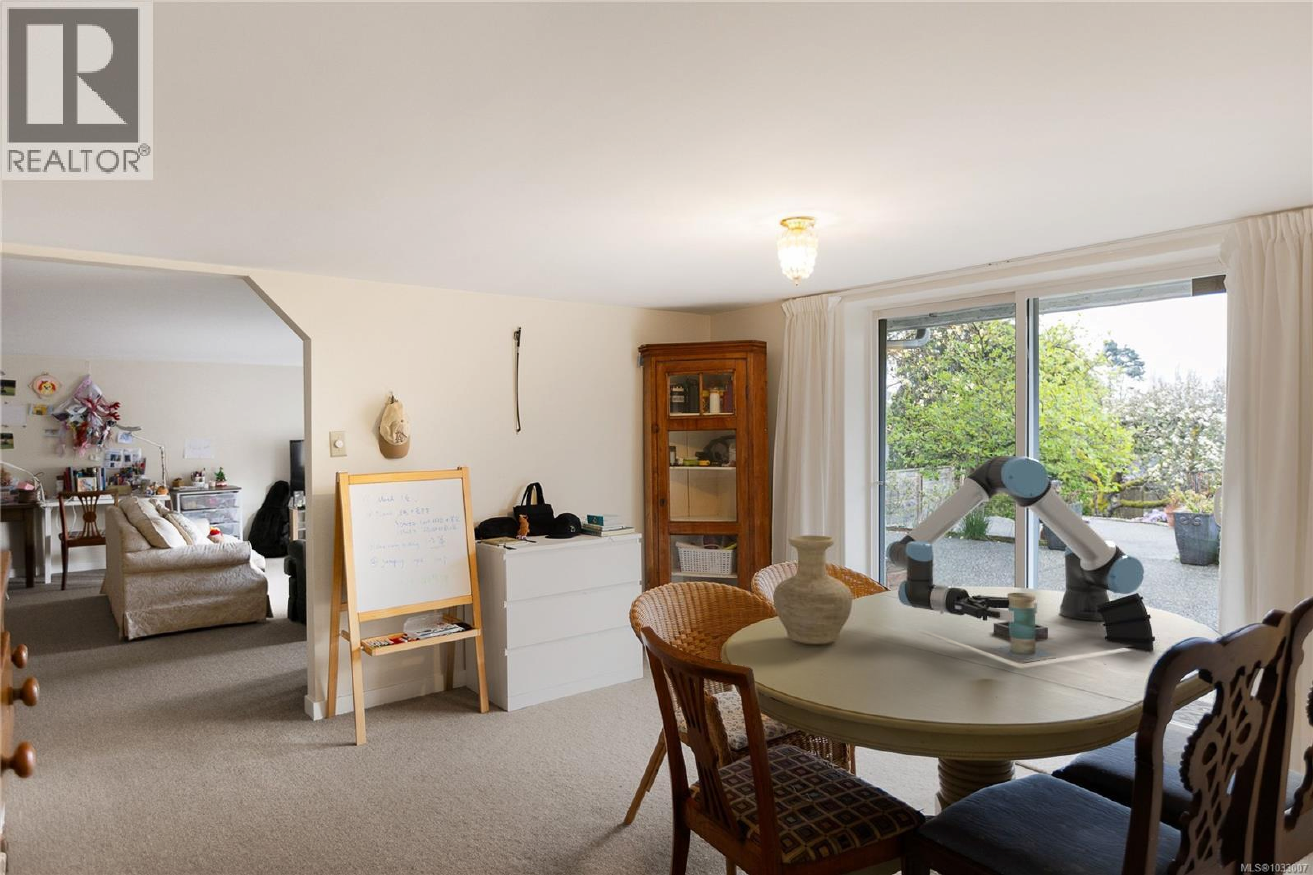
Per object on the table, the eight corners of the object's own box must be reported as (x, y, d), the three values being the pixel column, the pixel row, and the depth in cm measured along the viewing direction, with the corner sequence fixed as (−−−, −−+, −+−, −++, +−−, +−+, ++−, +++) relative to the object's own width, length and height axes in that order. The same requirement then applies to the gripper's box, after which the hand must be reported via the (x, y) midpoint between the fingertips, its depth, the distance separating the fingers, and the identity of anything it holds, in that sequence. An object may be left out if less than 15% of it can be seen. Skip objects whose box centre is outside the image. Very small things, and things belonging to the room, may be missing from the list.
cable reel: (1023, 646, 213) (1021, 591, 213) (1043, 652, 207) (1041, 596, 207) (1003, 649, 211) (1001, 594, 211) (1022, 655, 204) (1021, 598, 205)
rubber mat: (1023, 647, 216) (1023, 644, 216) (1056, 658, 205) (1055, 654, 205) (991, 652, 212) (991, 648, 212) (1023, 663, 202) (1023, 659, 202)
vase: (781, 629, 241) (779, 532, 240) (856, 634, 233) (854, 534, 233) (767, 649, 220) (765, 542, 219) (848, 655, 212) (846, 544, 212)
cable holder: (1020, 632, 232) (1020, 618, 232) (1053, 642, 221) (1053, 627, 221) (988, 636, 228) (988, 622, 228) (1020, 646, 217) (1020, 632, 217)
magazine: (1162, 648, 206) (1134, 594, 211) (1114, 660, 216) (1088, 608, 221) (1167, 646, 209) (1140, 592, 214) (1119, 657, 218) (1094, 605, 223)
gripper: (972, 606, 232) (1046, 618, 216) (927, 620, 216) (1003, 635, 200) (972, 581, 232) (1045, 591, 216) (927, 593, 216) (1002, 605, 200)
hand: (1025, 612), depth 208 cm, fingers open, 13 cm apart
